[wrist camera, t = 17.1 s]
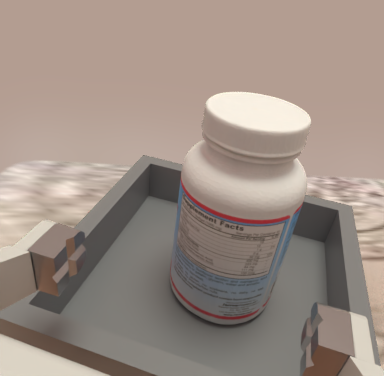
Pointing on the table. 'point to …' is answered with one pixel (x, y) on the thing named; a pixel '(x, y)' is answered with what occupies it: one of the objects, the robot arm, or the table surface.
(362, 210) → the table surface
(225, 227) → the pill bottle
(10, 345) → the robot arm
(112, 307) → the tray
